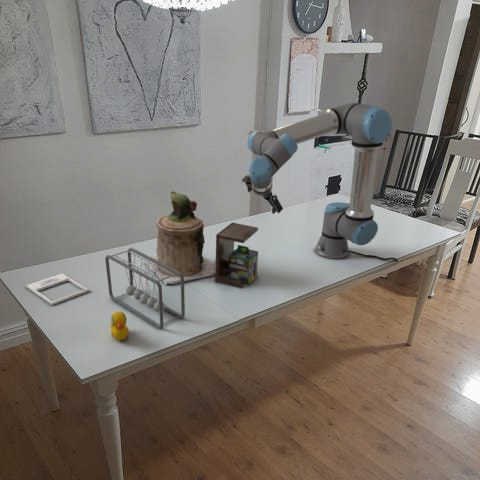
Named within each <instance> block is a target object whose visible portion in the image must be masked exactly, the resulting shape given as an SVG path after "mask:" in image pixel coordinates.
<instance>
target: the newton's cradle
mask: <svg viewBox="0 0 480 480" xmlns="http://www.w3.org/2000/svg"><path fill="white" fill-rule="evenodd" d="M125 253H127V258H121V257H120V256H118V255H122V254H125ZM132 255H133V256H132ZM133 257H134V258H135V257H137V258H139V259H138V260H136V259H134V261H133V262H132V258H133ZM151 257H152V256H149V255H147V254H145V253H143V252H141V251H140V250H137V249H135V248H133V247H129V248H128V249H127V250H125V251H122V252H119V253H115V254H112V255H110V254H106V255H105V259H104V260H105V269H106V280H107V286H108V288H107V289H108V294H109V297H110V299H111V300H112V301H114V302H115V303H117V304H119V305H120V306H122V307H123V308H124V309H127V310H128V311H130V312H132V313H133V314H135V315H136V316H138V317H139V318H141V319H143V320H144V321H146V322H148V323H149V324H151V325H153V326H154V327H156V328H157V329H162V328H163V327H164V325H166V324H169V323H170V322H172V321H174V320H177V319H183V318H185V313H186V309H185V308H186V307H185V305H186V304H185V303H186V302H185V281H184V277H183V275H182V273H181V272H179V271H177V270H175V269H173V268H171V267H169V266H167V265H165V264H163V263H161V262H159V261H157V260H155V259H153V258H151ZM144 258H146V259H148V260H150V261H152V262H154V263H156V264H158V265H160V266H162V267H164V268H166V269H168V270H170V271H172V272H174V273H176V274H173V273H171V272H169V271H167V270H165V269H163V268H161V267H159V266H157V265H155V264H153V263H151V262H149V261H147V260H145V259H144ZM126 259H127V260H126ZM110 260H111V261H113V262H115V263H117V264H118V265H120V266H122V267H124V269H125V271H126V276H127V278H128V283H129V285H128V286H127V287H126V289H125V291H126V293H123V294H122V295H118V296H116V297H115V296H114V294H113V288H112V277H111V269H110ZM144 260H145V261H147V262H149V263H151V264H153V265H155V266H156V267H159V268H161V269H163V273H164V270H165V271H166V272H168V273H170V274H172V275H171V276H169V277H172V276H175V275H177V274H178V275H179V276H180V279H181V282H180V305H181V306H180V309H181V310H180V311H181V314H180V313H178V312H176V311H175V310H173V309H171V308H169V307H167V306H166V305H165V303H164V301H163V285H162V283H164V282H163V280H164V279H167V278H169V277H166V278H164V279H163V278H162V279H160V277H158V276H156V275H157V274H156V271H155V272H154V273H153V274H151V273H150V272H149V270H151V268H149V266H148V265H147V264H148V263H147V264H145V263H144V264H143V262H141V263H140V265H138V266H136V265H135V264H136V262H140V261H144ZM145 261H144V262H145ZM144 265H147V267H148V268H147V269H145V270H144V269H143V268H142V267H143V266H144ZM153 268H154V267H153ZM127 269H128V271H127ZM160 272H161V271H160ZM157 273H158V272H157ZM135 274H137V275H138V277H139V281H140V282H139V285H138V286H137V283H136V278H135ZM142 277H143V278H144V279H145V280H146V285H145V290H144V287H143V284H142V279H141V278H142ZM148 281H150V282H151V283H153V290H152V294H151V290H150V286H149V282H148ZM160 282H161V283H160ZM134 283H135V285H134ZM140 285H141V286H140ZM156 286H157V288H156ZM140 287H142V289H140ZM147 288H148V292H149V293H147V292H145V291H147ZM156 289H157V290H156ZM157 291H158V293H157ZM154 293H155V294H156V295H155V296H156V297H155V296H152V295H154ZM126 295H128V296H132V297H133V298H134V299H135V300H137V301H140V302H141V303H142V304H145V305H147V307H149V308H151V309H154V311H156V312H157V313H159V323H157V322H156V321H154V320H152V319H151V318H149V317H147V316H146V315H144V314H142V313H140V312H139V311H138V310H136V309H134V308H133V307H132V306H129V305H128V304H127V303H125V302H123V301H121V300H119V298H121V297H123V296H126ZM164 310H165V311H166V312H168V313H170V314H171V315H173V316H174V318H172V319H170V320H168V321H164Z"/></svg>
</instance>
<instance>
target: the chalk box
mask: <svg viewBox="0 0 480 480" xmlns="http://www.w3.org/2000/svg"><path fill="white" fill-rule="evenodd" d="M258 261H259V251H258V250H253V249H250V247H249V246H246V245H240V244H238V245H237V248H236V249H234V251H233V252H232V253H231V254H230V255H229V271H228V273H227V274H228V275H227V277H231V278H235V279H239V280H242V285H243V286H249V285H250V284H251V283H252V282H253V281H254V280H255V279H257V278H258V264H259V263H258Z"/></svg>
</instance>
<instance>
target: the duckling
mask: <svg viewBox="0 0 480 480" xmlns="http://www.w3.org/2000/svg"><path fill="white" fill-rule="evenodd" d="M110 318H111V319H110V320H111V322H110V333H111V337H112V338H114V339H115V340H117V341H123V340H126V339H127V338H128V335H129V333H130V331H129V327H128V326H127V315H126V314H125V313H124V312H123V311H114V312H113V313H112V314H111V317H110Z"/></svg>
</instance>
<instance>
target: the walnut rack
mask: <svg viewBox="0 0 480 480" xmlns="http://www.w3.org/2000/svg"><path fill="white" fill-rule="evenodd" d="M258 231H259V227H258V226H257V227H256V226H252V225H247V224H242V223H237V222H231V223H229V224H228V225H227V226H225V227H224V228H223V229H222V230H220V231H219V232H217V233H216V234H215V267H216V269H215V275H214V276H215V277H214V282H215V283H219V284H224V285H227V286H231V287H235V288H238V289H242V287H243V284H242V280H239V279H235V278H231V277H228V275H227V274H228V271H229V255H230V254H231V253H232V252H233V251H234V250H235V242H236V243H239V244H240V243H241V244H244V243H246V242H247V241H248V240H249V239H250V238H251V237H252V236H254V235H255V234H256V233H257V232H258ZM226 275H227V276H226Z"/></svg>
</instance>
